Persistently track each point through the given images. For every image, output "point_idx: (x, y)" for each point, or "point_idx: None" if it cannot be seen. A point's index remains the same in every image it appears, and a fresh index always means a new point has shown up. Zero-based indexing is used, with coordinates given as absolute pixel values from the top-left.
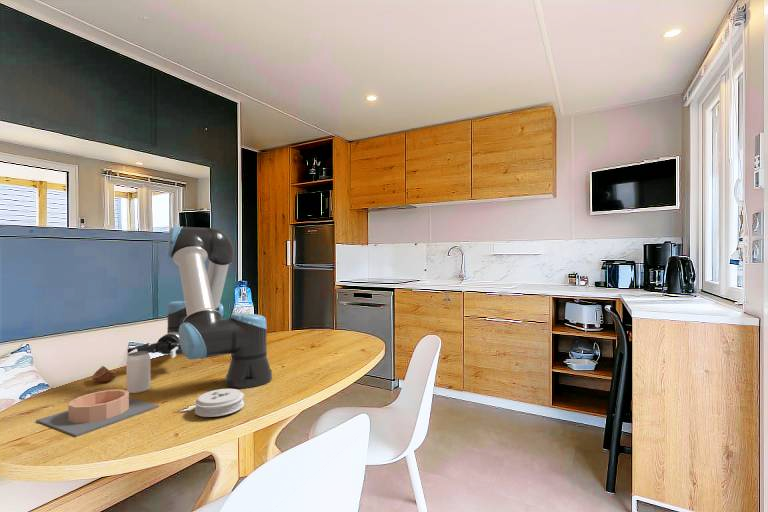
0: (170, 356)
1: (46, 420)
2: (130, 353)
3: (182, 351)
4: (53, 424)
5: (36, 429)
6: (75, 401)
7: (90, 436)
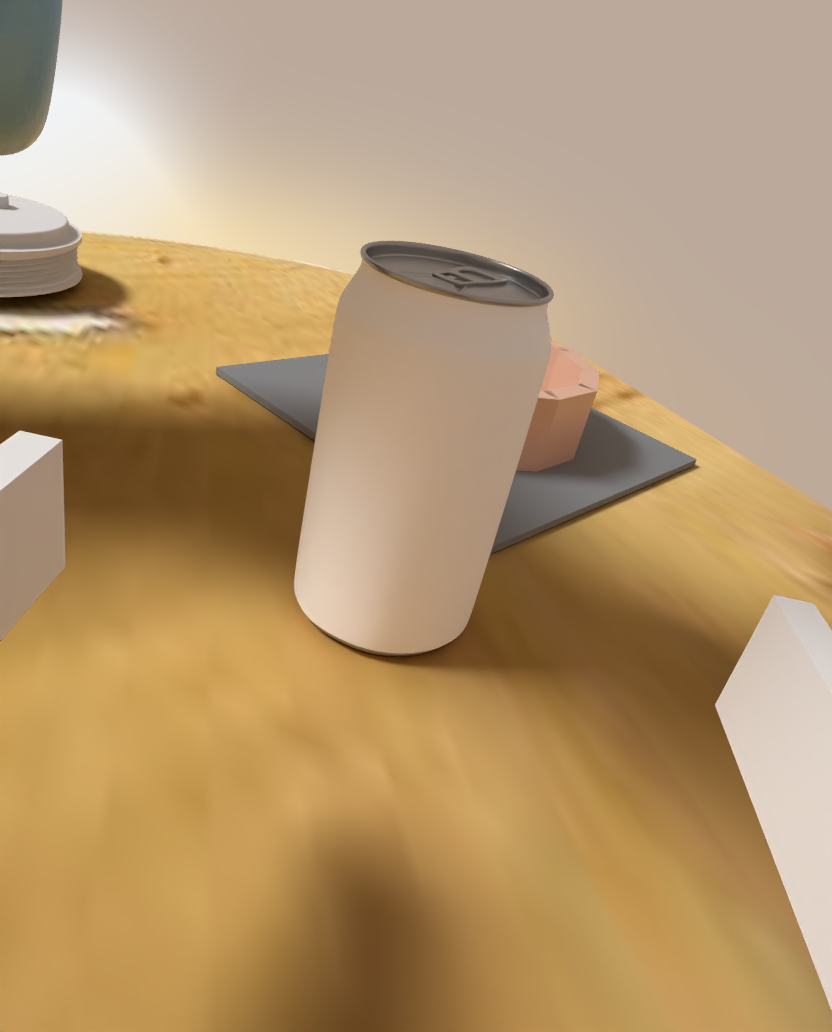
0: (64, 531)
1: (646, 441)
2: (547, 295)
3: (49, 105)
4: None
5: (626, 419)
6: (579, 374)
7: None
